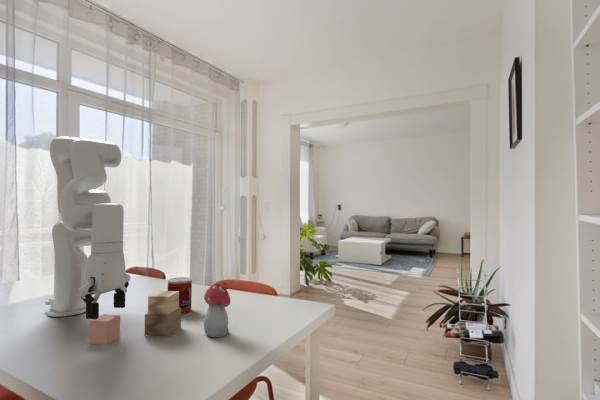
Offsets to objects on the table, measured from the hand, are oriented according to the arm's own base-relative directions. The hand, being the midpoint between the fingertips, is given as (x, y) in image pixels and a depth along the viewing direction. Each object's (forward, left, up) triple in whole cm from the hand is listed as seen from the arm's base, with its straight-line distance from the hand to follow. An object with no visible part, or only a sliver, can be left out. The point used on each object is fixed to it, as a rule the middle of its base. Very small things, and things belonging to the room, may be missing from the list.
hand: (106, 312), depth 85 cm
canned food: (+6, +26, -8) cm, 28 cm away
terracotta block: (-1, 0, -8) cm, 8 cm away
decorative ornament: (+27, +9, -8) cm, 30 cm away
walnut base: (+11, +8, -8) cm, 16 cm away
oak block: (+11, +8, -2) cm, 14 cm away
